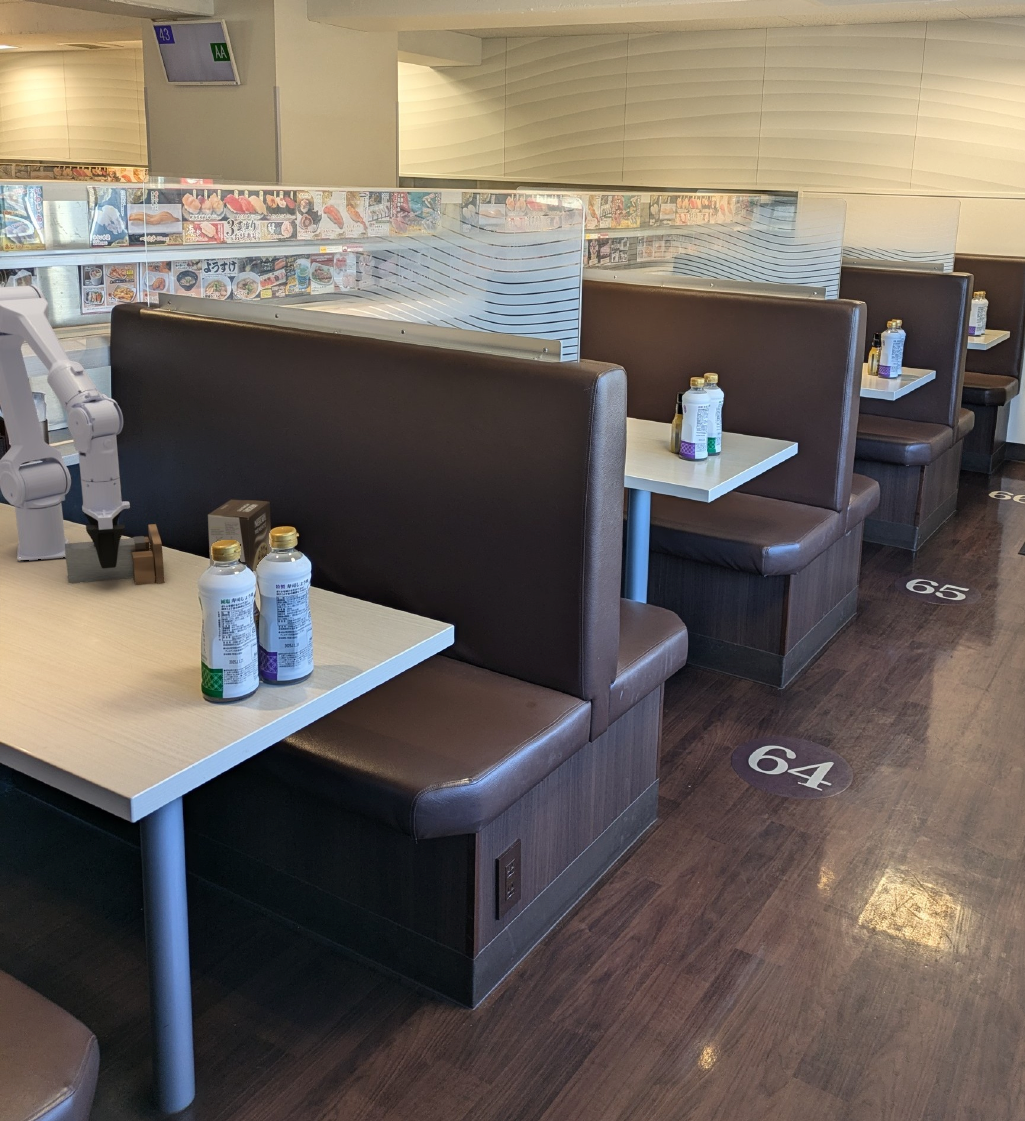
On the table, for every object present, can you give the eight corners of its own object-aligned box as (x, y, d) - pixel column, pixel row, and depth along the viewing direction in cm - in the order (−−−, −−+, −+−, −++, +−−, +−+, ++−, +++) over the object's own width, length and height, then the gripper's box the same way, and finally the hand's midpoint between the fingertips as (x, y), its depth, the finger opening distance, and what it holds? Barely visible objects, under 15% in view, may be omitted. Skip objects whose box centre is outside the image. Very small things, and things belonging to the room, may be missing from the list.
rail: (68, 576, 180) (64, 542, 178) (146, 569, 184) (143, 536, 182) (68, 583, 177) (64, 549, 175) (148, 576, 181) (145, 542, 179)
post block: (130, 563, 187) (127, 526, 185) (158, 561, 188) (155, 524, 186) (135, 585, 177) (132, 546, 175) (164, 582, 179) (161, 543, 176)
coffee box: (253, 623, 164) (248, 517, 159) (211, 619, 165) (205, 514, 160) (275, 601, 172) (271, 500, 167) (235, 597, 173) (230, 497, 168)
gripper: (130, 487, 170) (137, 571, 175) (124, 465, 183) (130, 544, 187) (80, 490, 168) (88, 576, 172) (78, 467, 180) (85, 547, 185)
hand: (107, 559), depth 180 cm, fingers open, 7 cm apart
